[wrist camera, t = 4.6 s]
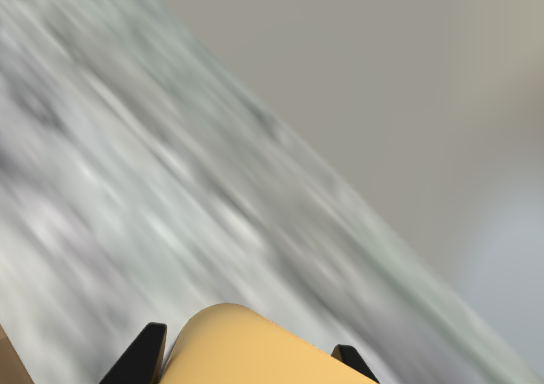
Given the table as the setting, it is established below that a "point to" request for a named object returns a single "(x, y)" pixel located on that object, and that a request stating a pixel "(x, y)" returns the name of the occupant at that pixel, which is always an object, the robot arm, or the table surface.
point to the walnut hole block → (11, 363)
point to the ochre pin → (249, 353)
